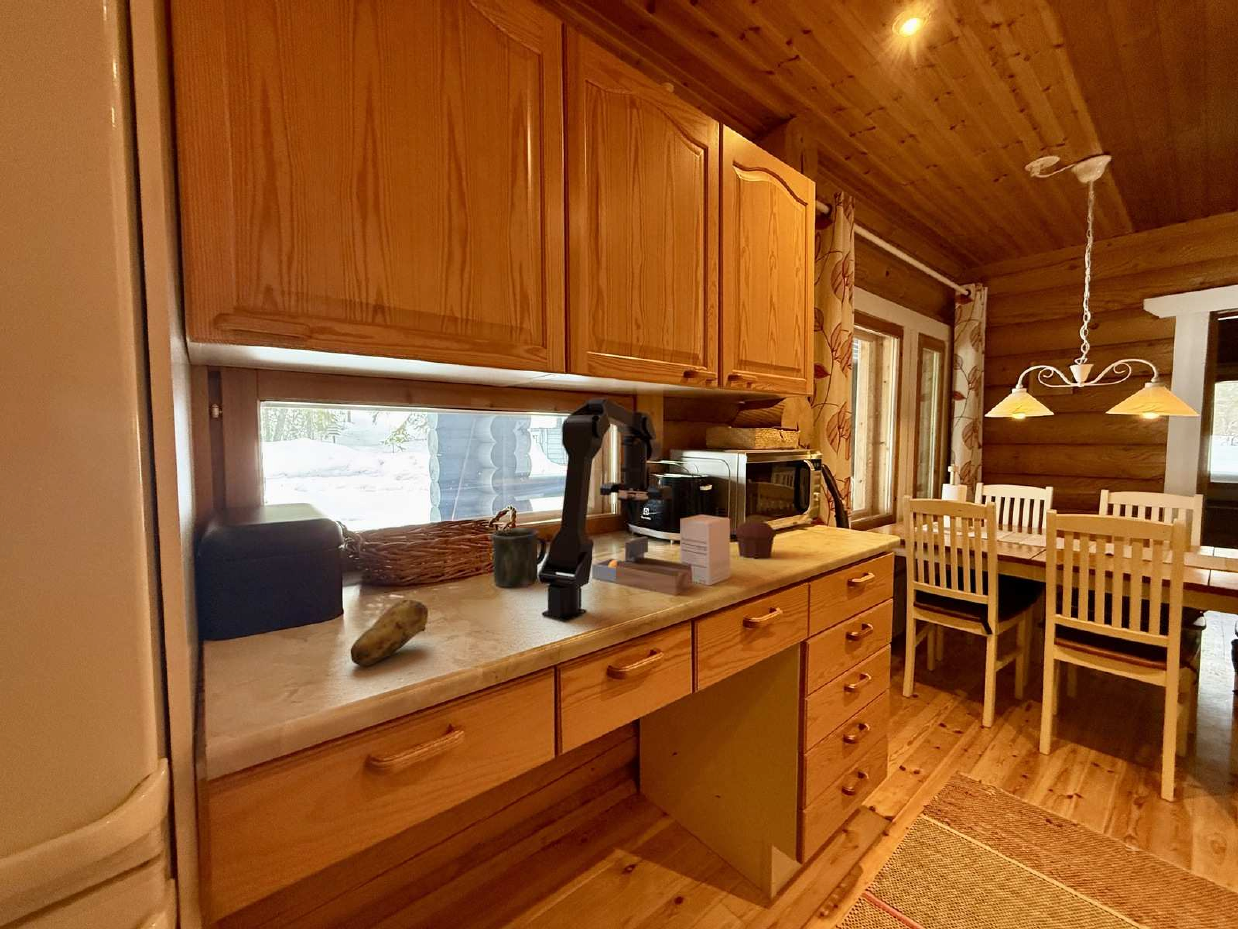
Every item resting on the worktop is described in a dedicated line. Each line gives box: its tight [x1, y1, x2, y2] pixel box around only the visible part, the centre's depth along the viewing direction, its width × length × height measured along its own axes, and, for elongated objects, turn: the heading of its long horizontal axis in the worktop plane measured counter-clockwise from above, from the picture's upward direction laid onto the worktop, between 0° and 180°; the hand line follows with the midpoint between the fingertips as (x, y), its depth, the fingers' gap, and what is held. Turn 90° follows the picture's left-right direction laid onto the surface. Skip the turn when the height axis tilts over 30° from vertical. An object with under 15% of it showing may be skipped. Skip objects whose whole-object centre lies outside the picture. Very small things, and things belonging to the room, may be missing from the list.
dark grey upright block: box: [624, 536, 649, 564], centre depth 125 cm, size 8×2×6 cm, turn 145°
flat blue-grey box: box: [591, 557, 625, 584], centre depth 129 cm, size 8×8×4 cm
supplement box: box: [679, 514, 731, 586], centre depth 128 cm, size 9×9×15 cm
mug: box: [490, 527, 547, 588], centre depth 126 cm, size 11×15×12 cm
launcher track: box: [615, 556, 693, 596], centre depth 122 cm, size 8×16×5 cm, turn 55°
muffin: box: [734, 519, 777, 560], centre depth 152 cm, size 12×11×10 cm
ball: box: [608, 559, 620, 568], centre depth 129 cm, size 4×4×4 cm
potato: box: [350, 599, 429, 667], centre depth 84 cm, size 8×13×8 cm, turn 135°
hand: (635, 525), depth 132 cm, fingers closed
